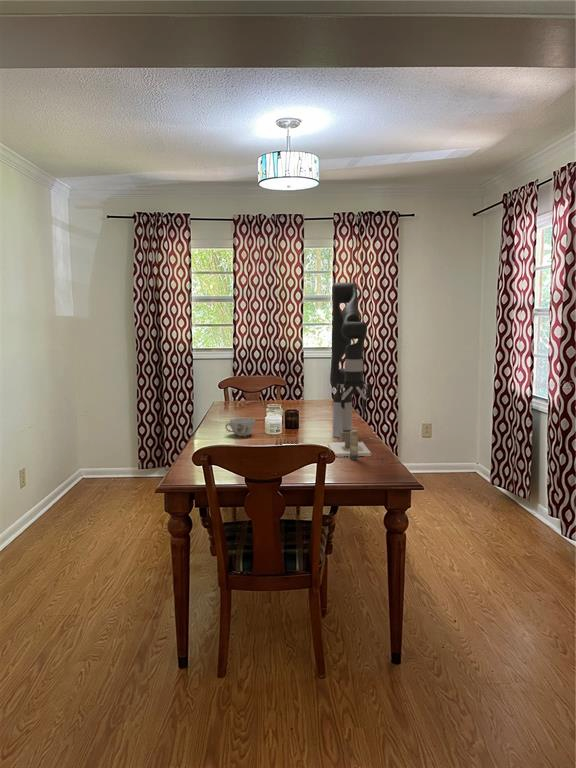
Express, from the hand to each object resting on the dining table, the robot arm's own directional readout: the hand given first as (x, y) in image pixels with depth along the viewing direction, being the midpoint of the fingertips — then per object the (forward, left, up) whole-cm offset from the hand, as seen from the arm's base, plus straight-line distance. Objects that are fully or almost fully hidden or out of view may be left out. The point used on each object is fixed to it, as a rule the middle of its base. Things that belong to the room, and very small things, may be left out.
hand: (353, 408), depth 245 cm
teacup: (-44, -49, -21) cm, 69 cm away
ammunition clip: (+13, -29, -21) cm, 38 cm away
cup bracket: (-10, 0, -21) cm, 23 cm away
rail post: (+4, 0, -21) cm, 21 cm away
